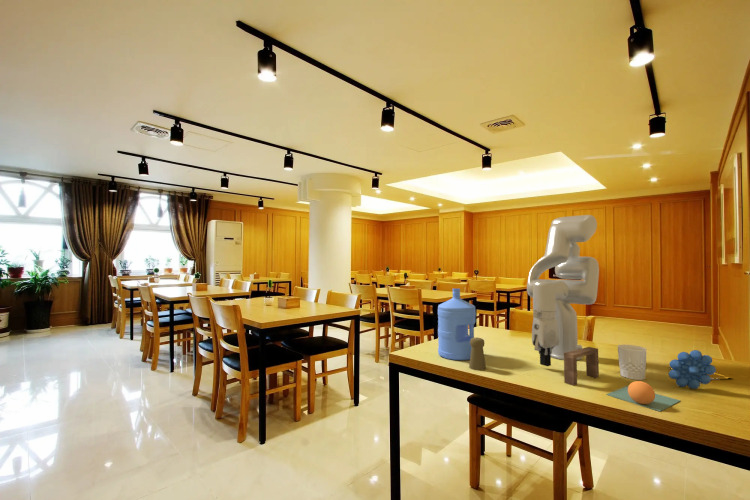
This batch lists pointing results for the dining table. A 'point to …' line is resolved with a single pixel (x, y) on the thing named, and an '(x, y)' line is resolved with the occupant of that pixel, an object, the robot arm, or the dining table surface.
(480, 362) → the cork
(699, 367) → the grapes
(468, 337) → the water jug
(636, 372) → the white cup
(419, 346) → the dining table surface
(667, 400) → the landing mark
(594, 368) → the bridge
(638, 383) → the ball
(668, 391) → the dining table surface
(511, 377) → the dining table surface
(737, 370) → the dining table surface
